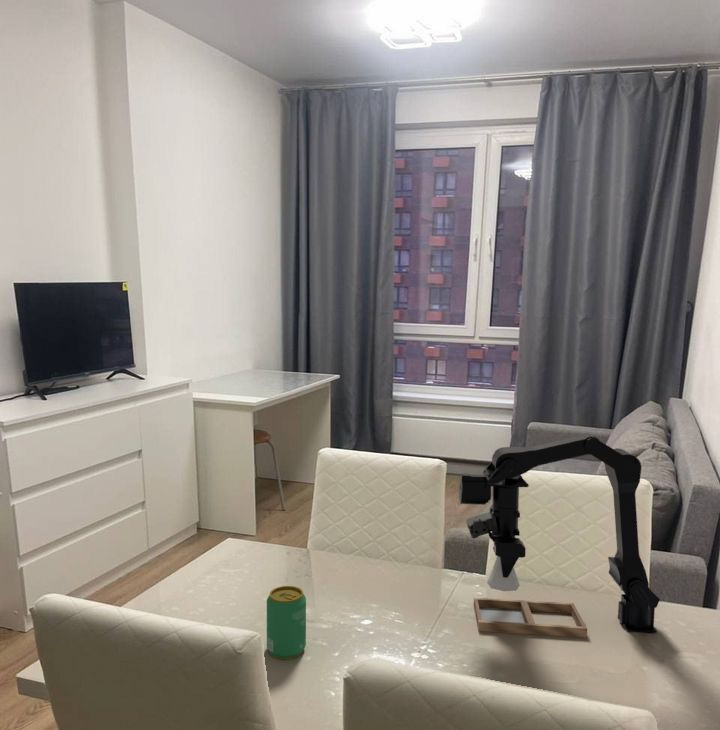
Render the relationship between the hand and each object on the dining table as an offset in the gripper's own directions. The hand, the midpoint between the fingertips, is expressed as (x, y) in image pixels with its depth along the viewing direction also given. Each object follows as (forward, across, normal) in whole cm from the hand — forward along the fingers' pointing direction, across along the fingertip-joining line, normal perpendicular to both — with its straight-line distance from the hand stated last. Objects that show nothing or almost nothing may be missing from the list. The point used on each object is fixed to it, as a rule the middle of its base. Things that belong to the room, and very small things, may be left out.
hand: (503, 572), depth 135 cm
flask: (+3, 0, 0) cm, 3 cm away
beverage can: (+11, +18, -46) cm, 51 cm away
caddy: (+11, 0, +6) cm, 12 cm away
